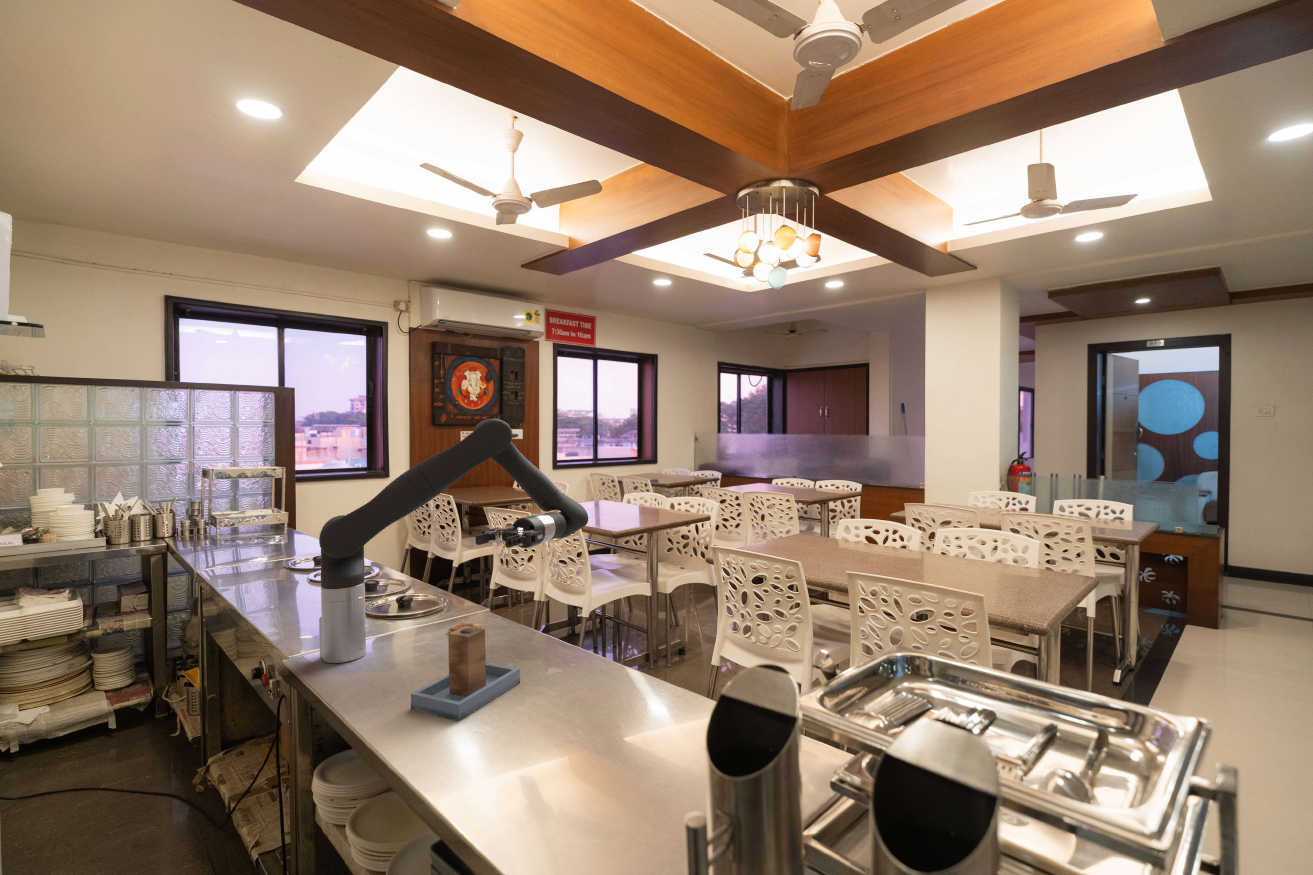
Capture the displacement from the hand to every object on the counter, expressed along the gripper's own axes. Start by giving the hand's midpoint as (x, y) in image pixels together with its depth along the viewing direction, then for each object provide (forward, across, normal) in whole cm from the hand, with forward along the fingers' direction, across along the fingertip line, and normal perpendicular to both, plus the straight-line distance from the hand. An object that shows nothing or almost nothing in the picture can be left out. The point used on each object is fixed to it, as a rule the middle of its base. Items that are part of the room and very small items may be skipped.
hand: (491, 541), depth 138 cm
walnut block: (+15, +6, +27) cm, 32 cm away
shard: (-14, -20, +29) cm, 38 cm away
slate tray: (+15, +6, +28) cm, 32 cm away
